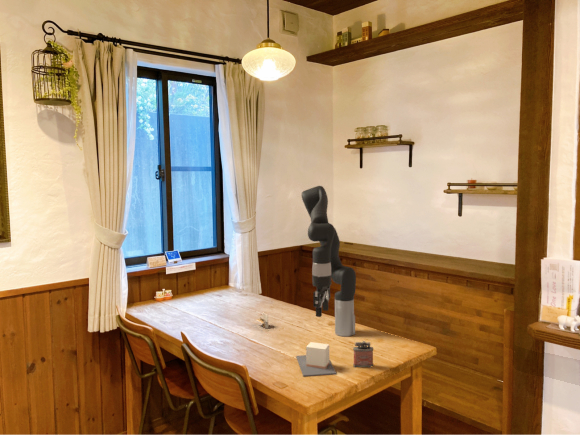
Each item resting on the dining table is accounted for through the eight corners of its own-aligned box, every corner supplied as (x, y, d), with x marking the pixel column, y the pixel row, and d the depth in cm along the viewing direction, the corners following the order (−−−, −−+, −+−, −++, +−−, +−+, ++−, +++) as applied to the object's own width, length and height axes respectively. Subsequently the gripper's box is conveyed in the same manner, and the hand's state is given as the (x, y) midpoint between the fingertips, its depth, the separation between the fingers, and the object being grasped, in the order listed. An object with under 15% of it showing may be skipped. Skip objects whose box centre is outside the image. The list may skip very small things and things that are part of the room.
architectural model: (262, 330, 225) (262, 316, 224) (256, 326, 231) (256, 312, 230) (268, 329, 227) (268, 314, 226) (262, 325, 233) (262, 311, 232)
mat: (326, 354, 191) (326, 353, 191) (336, 374, 172) (336, 372, 172) (296, 357, 189) (296, 355, 189) (303, 376, 171) (303, 375, 170)
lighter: (372, 363, 181) (372, 340, 180) (374, 367, 178) (374, 343, 177) (352, 364, 181) (352, 340, 180) (354, 368, 177) (354, 343, 177)
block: (325, 349, 175) (325, 368, 176) (329, 344, 180) (329, 363, 181) (306, 346, 178) (306, 366, 179) (310, 342, 183) (310, 360, 184)
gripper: (318, 269, 184) (319, 307, 185) (306, 276, 171) (307, 317, 172) (336, 270, 181) (336, 309, 182) (325, 278, 168) (325, 319, 169)
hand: (322, 313), depth 177 cm, fingers open, 8 cm apart
